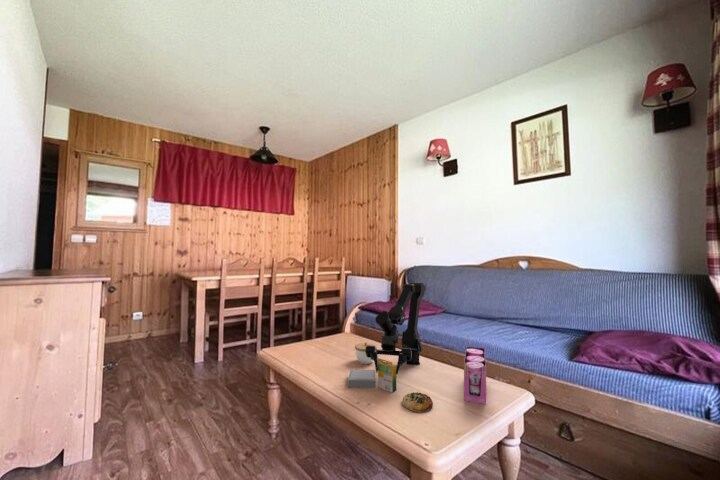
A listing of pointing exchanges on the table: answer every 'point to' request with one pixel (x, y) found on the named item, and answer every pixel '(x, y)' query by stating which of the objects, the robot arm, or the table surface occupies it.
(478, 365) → the pink product box
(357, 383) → the tray
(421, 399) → the bread roll
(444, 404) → the table surface
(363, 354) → the lidded jar
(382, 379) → the crayon box
